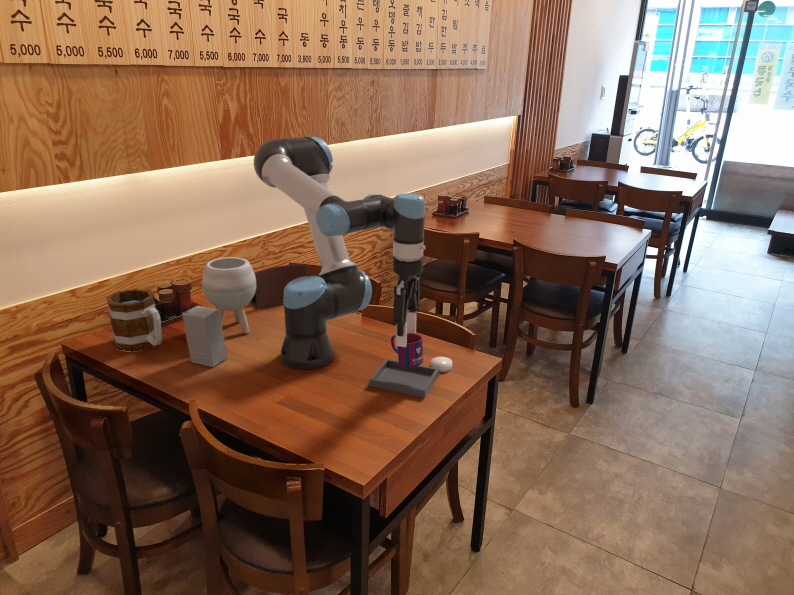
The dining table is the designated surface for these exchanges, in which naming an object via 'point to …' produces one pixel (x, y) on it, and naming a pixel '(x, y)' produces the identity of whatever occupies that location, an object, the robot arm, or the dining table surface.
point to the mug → (134, 320)
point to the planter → (230, 286)
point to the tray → (404, 378)
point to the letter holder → (275, 284)
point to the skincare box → (204, 336)
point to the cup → (410, 350)
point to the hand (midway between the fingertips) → (405, 340)
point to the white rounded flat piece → (442, 364)
